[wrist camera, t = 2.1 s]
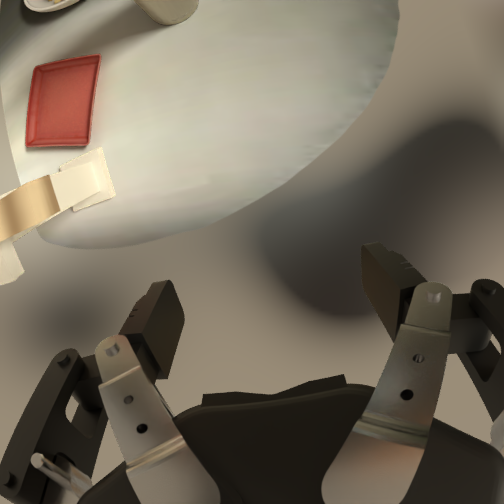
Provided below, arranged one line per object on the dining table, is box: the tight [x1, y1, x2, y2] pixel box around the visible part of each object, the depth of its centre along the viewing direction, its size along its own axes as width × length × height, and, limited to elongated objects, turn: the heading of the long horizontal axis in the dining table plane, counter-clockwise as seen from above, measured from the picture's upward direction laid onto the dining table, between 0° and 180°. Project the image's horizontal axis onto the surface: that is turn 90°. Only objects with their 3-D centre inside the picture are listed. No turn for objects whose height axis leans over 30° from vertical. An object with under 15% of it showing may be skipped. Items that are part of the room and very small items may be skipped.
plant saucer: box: [25, 54, 101, 147], centre depth 40 cm, size 18×18×3 cm
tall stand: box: [0, 147, 116, 285], centre depth 33 cm, size 14×12×32 cm
